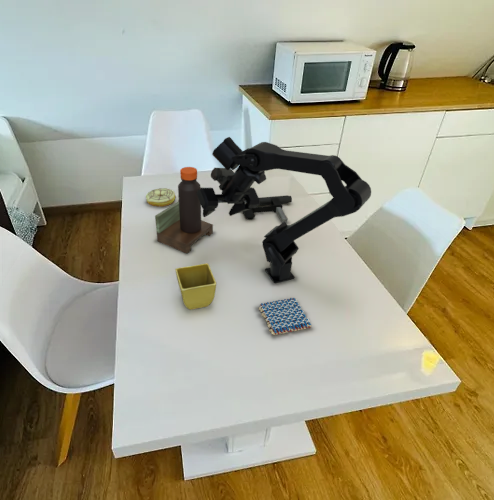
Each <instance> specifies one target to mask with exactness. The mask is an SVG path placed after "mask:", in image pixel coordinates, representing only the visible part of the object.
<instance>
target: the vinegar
mask: <svg viewBox="0 0 494 500" xmlns="http://www.w3.org/2000/svg"><path fill="white" fill-rule="evenodd" d="M179 173H180V174H179V175H180V180H181V181H180V182H179V183H178V185H177V193H178V201H179V214H180V229H181V230H182V231H183V232H185V233H196V232H198V231H199V230H200V229H201V220H202V206H201V204H200V201H199V199H198V196H197V194H196V193H197V192H198V190H199V188H202V187H201V184H200V182H199V181H197V180H198V169H197V168H196V167H193V166H184V167H182V168H181V169H180V170H179Z"/></svg>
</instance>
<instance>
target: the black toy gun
mask: <svg viewBox="0 0 494 500" xmlns="http://www.w3.org/2000/svg"><path fill="white" fill-rule="evenodd" d="M259 199H260V204H259V205H258V206H257V208H252V209H249V210H246V211H243V212H242V213H243V216H244V218H245V219H246V220H249V221H250V220H254V219H255V218H256V214H259V213H260V214H261V213H269V212H270V213H271V212H273V213H276V214H277V216H278V218H279V220H280V222H281V224H282V223H283V222H284V221H285V222H286V224H288V217H287V215H286V214H285V212H284V209H283V205H286V204H290V203H292V202H293V197H292V196H291V195H276V196H263V197H259Z"/></svg>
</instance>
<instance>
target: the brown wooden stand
mask: <svg viewBox="0 0 494 500" xmlns="http://www.w3.org/2000/svg"><path fill="white" fill-rule="evenodd" d="M154 220H155V221H154V222H155V230H156V241H157V242H159V243H160V244H163V245H165V246H168V247H170V248H173V249H175V250H177V251H180V252H182V253H184V254H189V253H190V252H191V251H192V245H194V243H196V242H197V241H198V240H200V239H201V238H202V237H203V236H205V235H206V236H208V237H210V236H211V235H213V234H214V225H213V224H212V223H210V222H207V221H204V220H202V219H201V229H200V230H199V231H198V232H196V233H185V232H183V231H182V230H181V229H180V214H179V200H178V201H176V202H175V203H172V204H171V205H169V206H167V208H165V209H164V210H163V209H162V211H160V212H158V213H157V214H155V215H154Z"/></svg>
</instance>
